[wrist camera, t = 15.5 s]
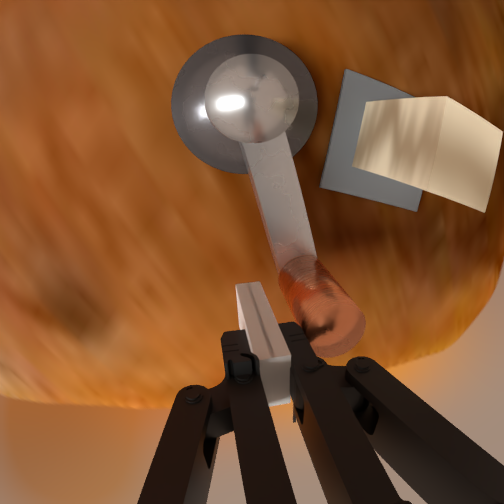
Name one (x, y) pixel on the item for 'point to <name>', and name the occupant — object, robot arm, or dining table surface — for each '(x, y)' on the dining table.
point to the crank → (281, 194)
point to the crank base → (193, 100)
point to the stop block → (430, 147)
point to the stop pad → (345, 142)
